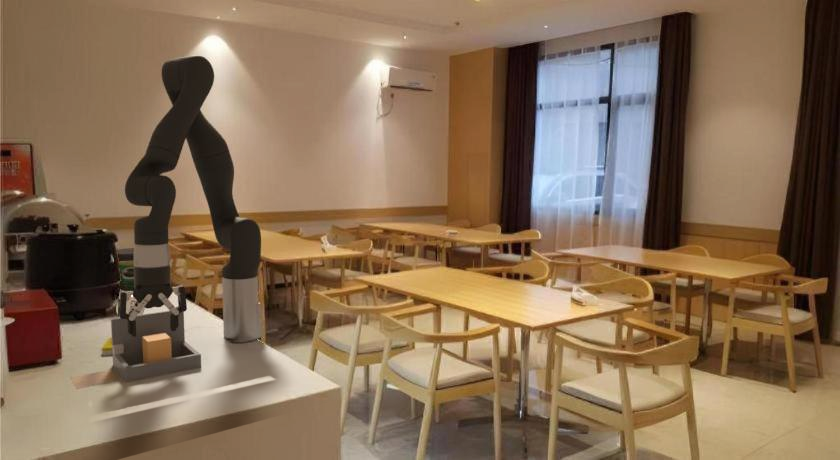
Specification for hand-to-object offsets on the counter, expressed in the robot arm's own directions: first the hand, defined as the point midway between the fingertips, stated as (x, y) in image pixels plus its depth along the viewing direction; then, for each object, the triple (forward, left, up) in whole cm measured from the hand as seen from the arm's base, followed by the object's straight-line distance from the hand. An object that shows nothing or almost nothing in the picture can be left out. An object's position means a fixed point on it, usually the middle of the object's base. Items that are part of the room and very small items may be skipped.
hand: (153, 333), depth 137 cm
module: (-1, 0, -8) cm, 8 cm away
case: (-1, 0, -9) cm, 9 cm away
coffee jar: (-11, -72, -9) cm, 73 cm away
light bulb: (-2, -30, -9) cm, 31 cm away
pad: (+12, 0, -9) cm, 15 cm away
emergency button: (+1, -18, -10) cm, 21 cm away
